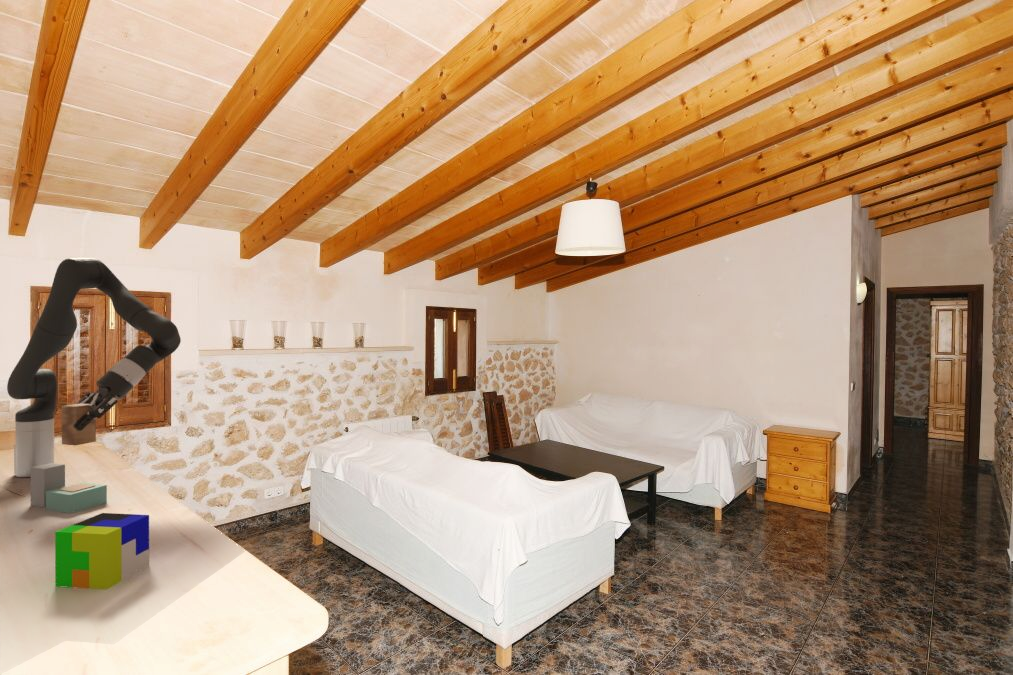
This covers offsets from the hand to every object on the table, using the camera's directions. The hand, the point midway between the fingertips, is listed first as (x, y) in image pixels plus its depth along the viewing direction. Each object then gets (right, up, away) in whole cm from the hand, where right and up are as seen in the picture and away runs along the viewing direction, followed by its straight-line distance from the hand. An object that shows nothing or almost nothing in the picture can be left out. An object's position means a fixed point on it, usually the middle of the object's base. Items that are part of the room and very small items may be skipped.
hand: (70, 427), depth 139 cm
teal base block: (+1, -21, +1) cm, 21 cm away
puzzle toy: (+37, -22, -38) cm, 57 cm away
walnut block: (+1, -4, +2) cm, 5 cm away
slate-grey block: (-8, -21, +3) cm, 22 cm away
